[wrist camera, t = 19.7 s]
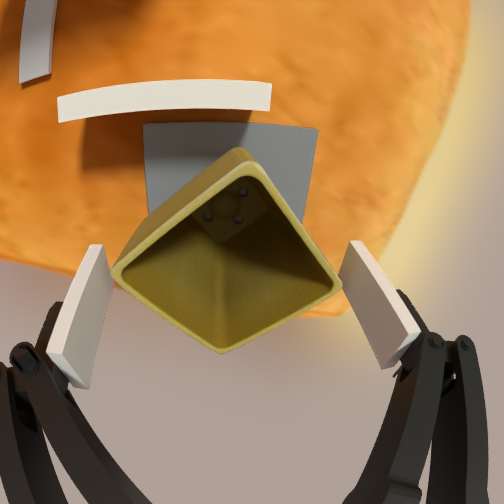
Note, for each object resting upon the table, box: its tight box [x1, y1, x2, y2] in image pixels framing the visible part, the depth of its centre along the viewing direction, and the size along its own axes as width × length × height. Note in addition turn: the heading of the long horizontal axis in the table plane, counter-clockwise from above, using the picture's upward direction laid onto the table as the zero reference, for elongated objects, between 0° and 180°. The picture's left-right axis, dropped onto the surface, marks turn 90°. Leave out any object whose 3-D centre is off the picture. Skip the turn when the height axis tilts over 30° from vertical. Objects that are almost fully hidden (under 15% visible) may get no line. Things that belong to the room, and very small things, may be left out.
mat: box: [143, 121, 318, 224], centre depth 21 cm, size 12×12×1 cm
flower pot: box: [110, 147, 343, 354], centre depth 17 cm, size 9×9×9 cm
